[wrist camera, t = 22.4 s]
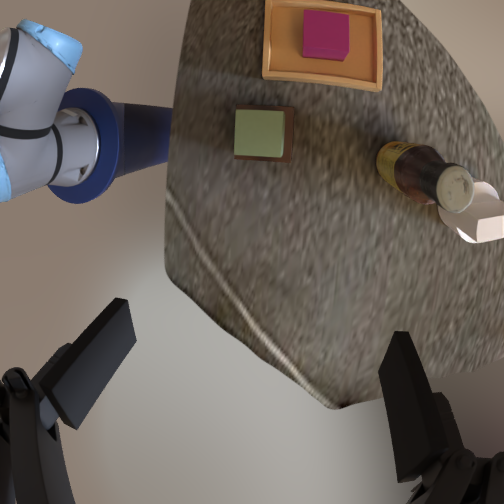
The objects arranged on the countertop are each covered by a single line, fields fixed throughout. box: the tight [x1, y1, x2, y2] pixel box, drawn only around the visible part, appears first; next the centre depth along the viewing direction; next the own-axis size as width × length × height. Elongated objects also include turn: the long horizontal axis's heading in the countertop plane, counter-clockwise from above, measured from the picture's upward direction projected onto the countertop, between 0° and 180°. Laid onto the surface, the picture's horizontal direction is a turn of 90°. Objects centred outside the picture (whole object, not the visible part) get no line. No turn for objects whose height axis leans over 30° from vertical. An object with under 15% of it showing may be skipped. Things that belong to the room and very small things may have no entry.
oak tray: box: [262, 0, 382, 92], centre depth 30 cm, size 16×13×3 cm
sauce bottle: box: [376, 141, 475, 213], centre depth 28 cm, size 7×6×20 cm
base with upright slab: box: [438, 178, 504, 243], centre depth 31 cm, size 9×9×12 cm
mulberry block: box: [302, 9, 349, 62], centre depth 28 cm, size 6×6×6 cm
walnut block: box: [234, 105, 295, 163], centre depth 36 cm, size 7×7×5 cm
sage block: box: [234, 110, 285, 158], centre depth 31 cm, size 5×5×5 cm
